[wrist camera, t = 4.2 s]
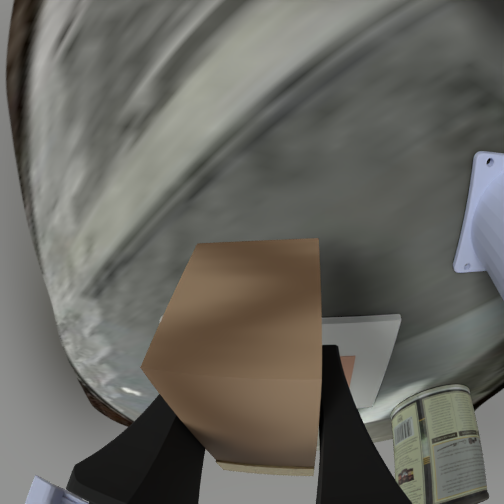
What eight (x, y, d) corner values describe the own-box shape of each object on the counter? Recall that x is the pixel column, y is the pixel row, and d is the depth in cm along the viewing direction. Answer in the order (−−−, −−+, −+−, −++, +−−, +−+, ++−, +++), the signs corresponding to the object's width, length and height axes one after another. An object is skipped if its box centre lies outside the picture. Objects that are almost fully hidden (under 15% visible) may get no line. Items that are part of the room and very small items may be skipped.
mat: (399, 313, 20) (401, 320, 19) (371, 402, 28) (372, 407, 27) (161, 315, 24) (158, 322, 23) (206, 399, 31) (205, 404, 31)
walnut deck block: (318, 238, 10) (321, 383, 6) (317, 385, 15) (313, 477, 11) (197, 243, 10) (138, 370, 6) (242, 383, 16) (224, 471, 11)
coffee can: (456, 414, 30) (468, 508, 18) (385, 428, 32) (386, 527, 21) (482, 375, 24) (505, 491, 13) (396, 392, 26) (404, 522, 15)
